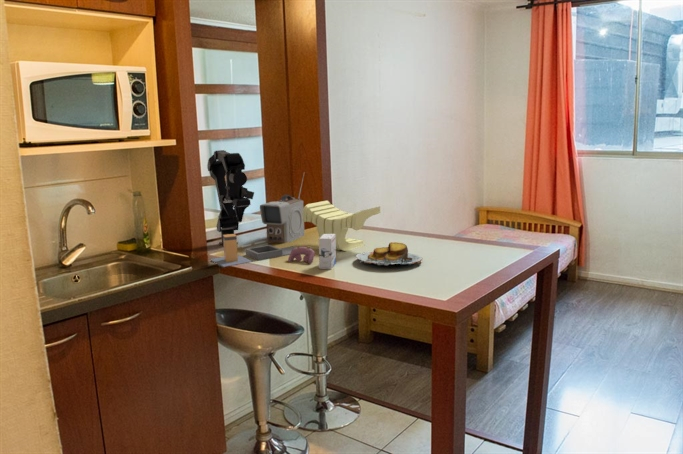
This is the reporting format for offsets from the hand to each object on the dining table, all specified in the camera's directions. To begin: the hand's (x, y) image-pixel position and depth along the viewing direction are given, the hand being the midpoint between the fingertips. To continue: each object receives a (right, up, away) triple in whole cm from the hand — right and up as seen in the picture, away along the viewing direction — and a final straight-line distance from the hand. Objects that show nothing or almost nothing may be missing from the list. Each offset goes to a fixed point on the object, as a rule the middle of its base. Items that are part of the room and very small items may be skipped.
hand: (235, 220), depth 242 cm
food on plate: (+63, -17, -22) cm, 68 cm away
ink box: (+40, -18, -26) cm, 50 cm away
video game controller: (+29, -17, -18) cm, 38 cm away
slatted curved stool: (+45, -11, +5) cm, 46 cm away
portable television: (+19, -9, +21) cm, 30 cm away
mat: (+1, -16, -16) cm, 23 cm away
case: (+18, -14, -6) cm, 23 cm away
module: (+1, -16, -16) cm, 23 cm away
